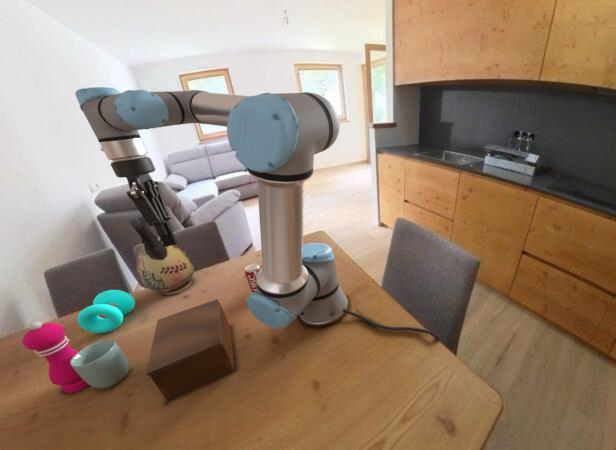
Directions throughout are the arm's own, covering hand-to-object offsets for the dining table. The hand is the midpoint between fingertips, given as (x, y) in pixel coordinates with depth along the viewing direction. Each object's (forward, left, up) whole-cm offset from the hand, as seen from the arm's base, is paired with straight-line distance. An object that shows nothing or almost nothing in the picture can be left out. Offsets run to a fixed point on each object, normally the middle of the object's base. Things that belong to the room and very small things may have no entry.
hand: (171, 244), depth 77 cm
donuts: (+29, +3, -27) cm, 40 cm away
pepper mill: (+17, +22, -27) cm, 39 cm away
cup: (+9, +21, -27) cm, 36 cm away
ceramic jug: (+23, -14, -27) cm, 38 cm away
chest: (-10, +14, -27) cm, 32 cm away
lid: (-11, +15, -17) cm, 25 cm away
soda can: (-12, -12, -27) cm, 32 cm away
